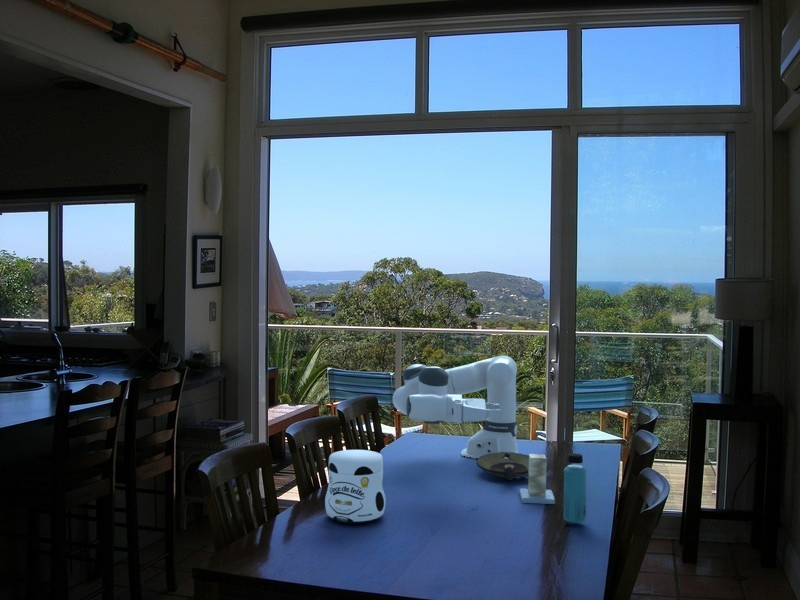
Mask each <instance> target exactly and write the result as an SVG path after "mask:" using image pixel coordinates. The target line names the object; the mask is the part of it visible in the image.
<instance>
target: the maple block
mask: <svg viewBox="0 0 800 600" xmlns="http://www.w3.org/2000/svg"><path fill="white" fill-rule="evenodd" d="M528 455H529V474H528V483H527V484H528V485H527V486H528V488H527V489H528V492H529V496H545V497H546V490H547V457H546V454H541V453H540V454H539V453H538V454H537V453H529V454H528Z"/></svg>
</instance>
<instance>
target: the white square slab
mask: <svg viewBox="0 0 800 600" xmlns="http://www.w3.org/2000/svg"><path fill="white" fill-rule="evenodd" d="M519 496H520V500H521V503H522V504H540V505H541V504H544V505H545V504H547V505H555V504H556V499H555V496H554V494H553V491H552V489H546V497H545V496H529V492H528V488H519Z"/></svg>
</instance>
